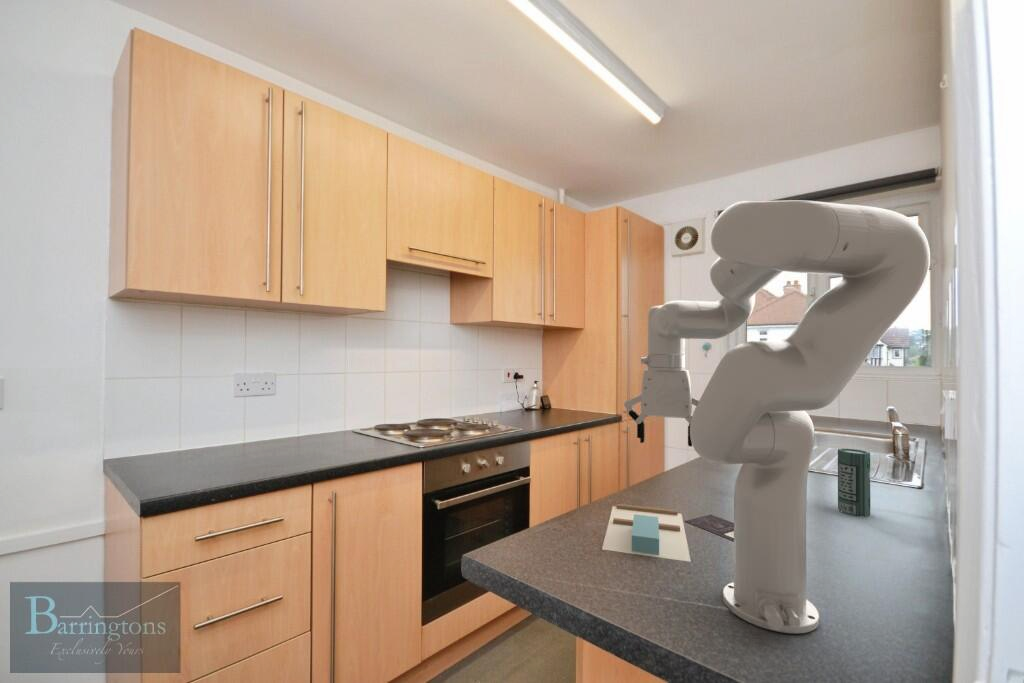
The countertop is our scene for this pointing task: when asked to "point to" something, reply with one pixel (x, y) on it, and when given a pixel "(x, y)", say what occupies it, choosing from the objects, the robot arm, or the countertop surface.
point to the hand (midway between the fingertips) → (665, 443)
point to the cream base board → (669, 531)
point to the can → (854, 482)
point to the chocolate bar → (715, 526)
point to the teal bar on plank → (645, 534)
